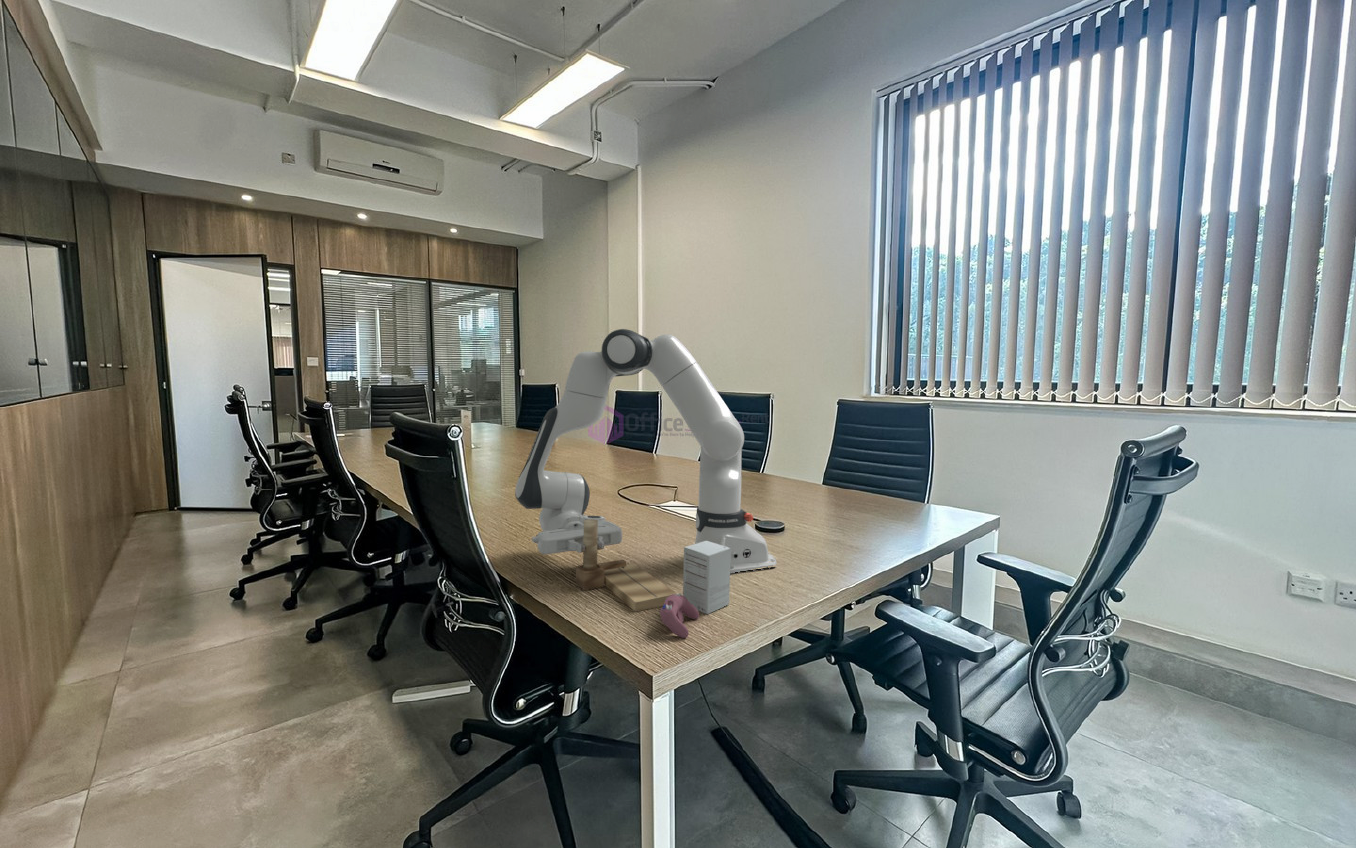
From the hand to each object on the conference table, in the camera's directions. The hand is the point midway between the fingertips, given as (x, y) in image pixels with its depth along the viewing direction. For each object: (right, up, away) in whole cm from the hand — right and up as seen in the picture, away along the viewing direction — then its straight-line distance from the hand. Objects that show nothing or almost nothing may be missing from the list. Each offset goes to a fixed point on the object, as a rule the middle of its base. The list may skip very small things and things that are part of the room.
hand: (591, 547), depth 124 cm
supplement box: (+26, -11, -7) cm, 29 cm away
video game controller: (+20, -12, -18) cm, 29 cm away
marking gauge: (+2, -9, +3) cm, 10 cm away
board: (+10, -9, 0) cm, 13 cm away
